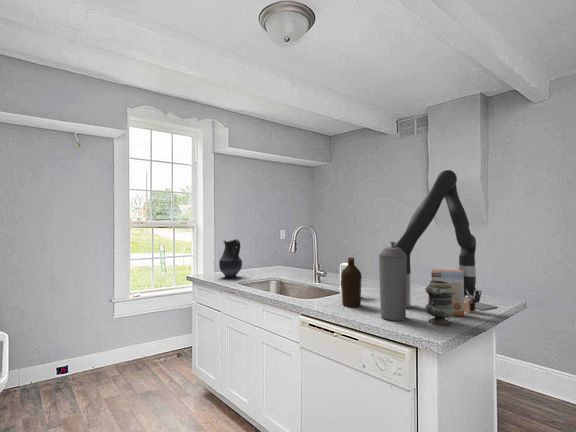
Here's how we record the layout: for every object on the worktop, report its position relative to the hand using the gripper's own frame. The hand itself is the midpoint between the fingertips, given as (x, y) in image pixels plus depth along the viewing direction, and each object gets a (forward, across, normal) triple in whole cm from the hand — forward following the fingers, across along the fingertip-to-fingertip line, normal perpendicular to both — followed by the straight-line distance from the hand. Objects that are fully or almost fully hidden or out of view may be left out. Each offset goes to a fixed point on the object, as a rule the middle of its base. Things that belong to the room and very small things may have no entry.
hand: (467, 309), depth 177 cm
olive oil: (+1, -36, -43) cm, 56 cm away
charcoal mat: (+1, -4, +13) cm, 13 cm away
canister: (+1, -8, -40) cm, 41 cm away
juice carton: (+1, -54, -32) cm, 63 cm away
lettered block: (+1, 0, 0) cm, 1 cm away
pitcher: (+1, -147, -74) cm, 165 cm away
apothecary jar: (+1, +8, -27) cm, 28 cm away
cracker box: (+1, -1, -12) cm, 13 cm away
